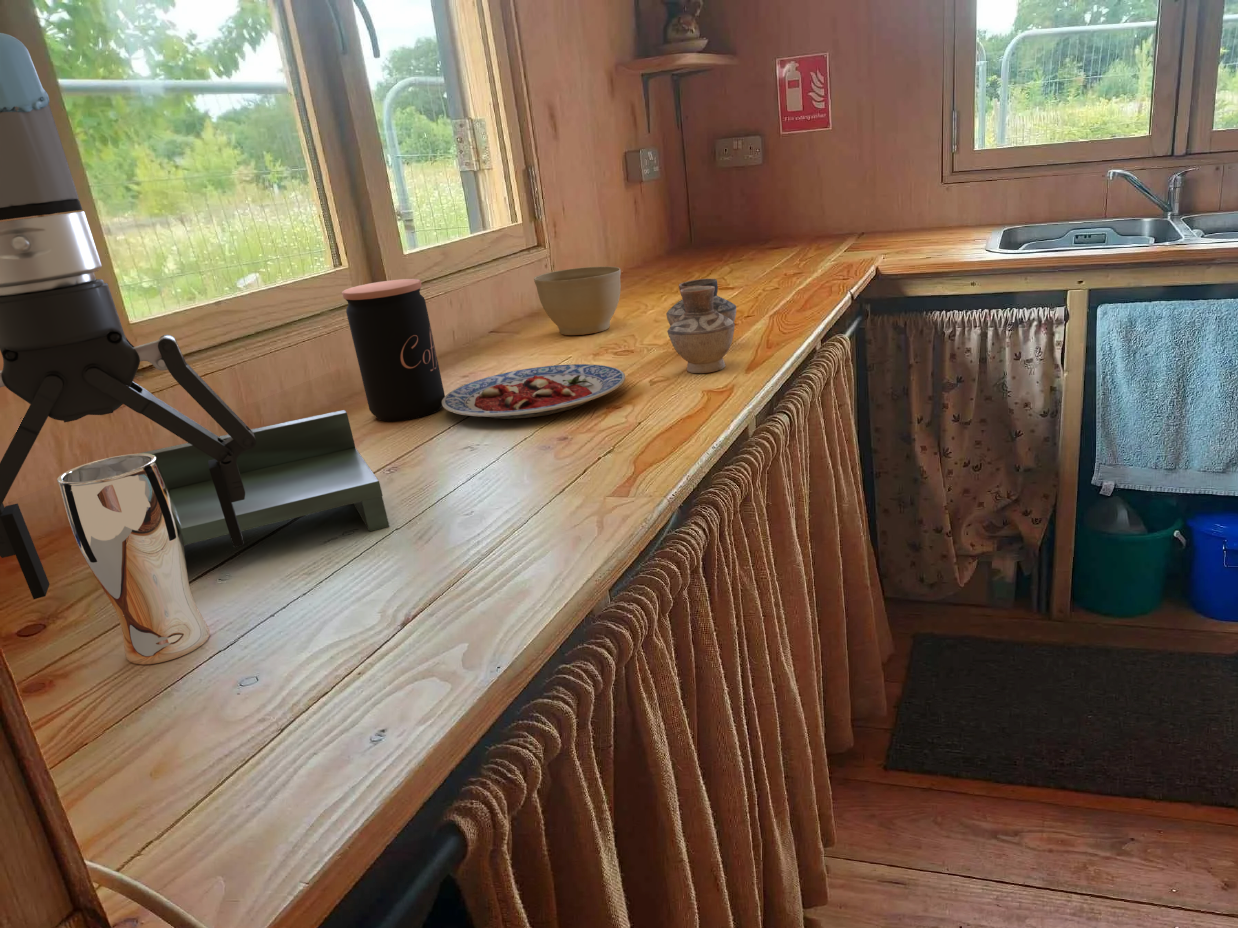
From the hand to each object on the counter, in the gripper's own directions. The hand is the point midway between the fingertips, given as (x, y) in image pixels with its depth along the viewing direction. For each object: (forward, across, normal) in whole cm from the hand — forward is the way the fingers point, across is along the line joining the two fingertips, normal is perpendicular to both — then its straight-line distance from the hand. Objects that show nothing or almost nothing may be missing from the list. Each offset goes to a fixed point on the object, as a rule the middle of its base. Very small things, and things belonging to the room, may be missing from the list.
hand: (143, 566), depth 74 cm
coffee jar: (+7, +31, +61) cm, 69 cm away
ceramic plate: (+7, +47, +50) cm, 69 cm away
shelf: (+7, +9, +22) cm, 25 cm away
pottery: (+7, +76, +54) cm, 94 cm away
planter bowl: (+7, +72, +94) cm, 119 cm away
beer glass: (+7, 0, +1) cm, 7 cm away
